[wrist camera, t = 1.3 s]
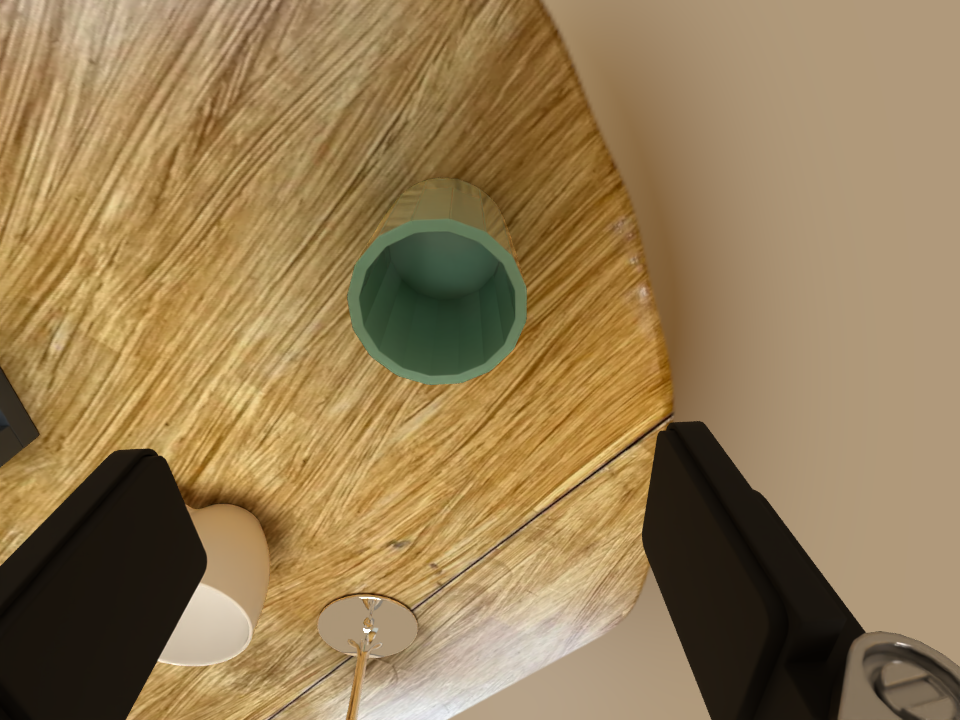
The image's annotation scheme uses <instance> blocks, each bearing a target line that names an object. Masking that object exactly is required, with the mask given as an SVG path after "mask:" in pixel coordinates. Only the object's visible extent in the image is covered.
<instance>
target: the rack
mask: <svg viewBox="0 0 960 720" xmlns="http://www.w3.org/2000/svg"><path fill="white" fill-rule="evenodd" d="M38 436H39V433H38V432H37V430H36V428H35V426H34V425H33V423H32V421H31V420H30V418H29V416H28V415H27V413H26V411H25V409H24V408H23V406H22V404H21V403H20V401H19V399H18V397H17V396H16V394H15V392H14V391H13V389H12V387H11V385H10V384H9V382H8V380H7V379H6V377H5V375H4V374H3V372H2V370H1V368H0V467H1V466H3V465H4V464H5V463H6V462H8V461H9V460H10V459H11V458H12V457H14V456H15V455H16V454H17V453H18V452H20V451H21V450H22V449H23V448H25V447H26V446H27V445H28V444H30V443H31V442H32V441H33V440H34V439H36V438H37V437H38Z"/></svg>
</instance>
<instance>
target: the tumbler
mask: <svg viewBox="0 0 960 720" xmlns="http://www.w3.org/2000/svg"><path fill="white" fill-rule="evenodd" d="M347 300H348V306H349V311H350V317H351V322H352V328H353V330H354V332H355V333H356V335H357V336H358V338H359V339H360V341H361V342H362V344H363V345H364V347H365V348H366V350H367V352H368V353H369V355H370V356H371V357H372V358H373V359H375V360H376V361H378V362H379V363H380V364H382V365H383V366H385V367H386V368H387V369H389V370H390V371H391V372H393V373H394V374H396V375H398V376H400V377H403V378H407V379H410V380H414V381H417V382H420V383H424V384H427V385H428V384H429V385H437V384H457V383H463V382H465V381H468V380H470V379H473V378H475V377H478V376H480V375H482V374H485V373H487V372H489V371H491V370H492V369H493V368H494V367H495V366H496V365H498V364H499V363H500V362H501V361H502V360H503V359H504V358H505V357H506V356H507V355H508V354H509V353H510V352H511V351H512V350H513V349H514V347H515V345H516V343H517V341H518V339H519V336H520V334H521V332H522V330H523V327H524V325H525V323H526V319H527V288H526V284H525V281H524V278H523V274H522V271H521V268H520V265H519V261H518V258H517V255H516V252H515V249H514V245H513V242H512V239H511V236H510V232H509V230H508V227H507V225H506V223H505V220H504V217H503V215H502V213H501V211H500V209H499V208H498V206H497V205H496V203H495V202H494V201H493V200H492V199H491V198H490V197H489V196H488V195H487V194H486V193H485V192H484V191H482V190H481V189H479V188H478V187H476V186H475V185H473V184H470V183H468V182H466V181H462V180H459V179H454V178H434V179H429V180H425V181H422V182H420V183H417V184H415V185H414V186H412V187H410V188H408V189H407V190H406V191H405V192H403V193H402V194H401V195H400V196H399V197H398V198H397V199H396V201H395V202H394V203H393V205H392V206H391V207H390V209H389V210H388V211H387V212H386V214H385V216H384V217H383V219H382V221H381V222H380V224H379V226H378V227H377V229H376V231H375V232H374V234H373V236H372V237H371V239H370V241H369V242H368V244H367V245H366V247H365V249H364V250H363V252H362V254H361V255H360V257H359V259H358V260H357V262H356V264H355V266H354V270H353V274H352V278H351V282H350V286H349V290H348V294H347Z"/></svg>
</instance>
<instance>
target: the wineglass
mask: <svg viewBox="0 0 960 720" xmlns="http://www.w3.org/2000/svg"><path fill="white" fill-rule="evenodd" d="M317 628H318V632H319V634H320V636H321V638H322V639H323V640H324V641H325V642H326V643H327V644H328V645H329V646H331V647H332V648H333V649H335V650H337V651H339V652H341V653H344V654H347V655H350V656H355V657H357V664H356V669H355V675H354V680H353V685H352V691H351V696H350V701H349V707H348V712H347V716H346V720H357V718H358V711H359V705H360V699H361V693H362V687H363V682H364V676H365V670H366V664H367V660H368V658H379V657H386V656H390V655H394V654H396V653H398V652H401V651H403V650H404V649H406V648H407V647H409V646H410V645H411V644H412V642H413V641H414V640H415V638H416V636H417V632H418V623H417V620H416V618H415V616H414V615H413V613H412V612H411V611H410V610H409V609H408V608H407V607H405V606H404V605H402V604H401V603H399V602H397V601H395V600H392V599H390V598H387V597H382V596H378V595H369V594H364V595H352V596H347V597H343V598H340V599H338V600H336V601H334V602H331V603H330V604H329V605H327V606H326V607H325V608H324V609H323V610H322V612H321V613H320V615H319V617H318V620H317Z"/></svg>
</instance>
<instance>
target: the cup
mask: <svg viewBox="0 0 960 720" xmlns="http://www.w3.org/2000/svg"><path fill="white" fill-rule="evenodd" d="M185 505H186V504H185ZM186 507H187V510H188V512H189V514H190V516H191V519H192V521H193V523H194V526H195V528H196V530H197V533H198V535H199V537H200V540H201V542H202V544H203V547H204V549H205V551H206V554H207V567H206V571H205V573H204V576H203V577H202V579H201V581H200V583H199V585H198V587H197V589H196V590H195V592H194V594H193V596H192V598H191V600H190V602H189V603H188V605H187V607H186V609H185V611H184V613H183V614H182V616H181V618H180V620H179V622H178V624H177V626H176V627H175V629H174V631H173V633H172V635H171V637H170V639H169V640H168V642H167V644H166V646H165V648H164V650H163V651H162V653H161V655H160V657H159V659H158V661H159V662H163V663H167V664H173V665H181V666H206V665H213V664H217V663H221V662H224V661H227V660H230V659H232V658H234V657H236V656H237V655H239V654H240V653H241V652H243V651H244V650H245V649H246V648H247V646H248V645H249V643H250V641H251V639H252V636H253V634H254V631H255V629H256V626H257V623H258V621H259V618H260V615H261V612H262V609H263V606H264V603H265V599H266V596H267V591H268V586H269V579H270V556H269V549H268V544H267V540H266V537H265V534H264V532H263V529H262V527H261V524H260V522H259V521H258V519H257V518H256V517H255V516H254V515H253V514H252V513H250V512H249V511H247V510H246V509H244V508H241V507H239V506H235V505H231V504H214V505H210V506H207V507H204V508H201V509H193V508H191V507H189V506H188V505H186Z"/></svg>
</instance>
